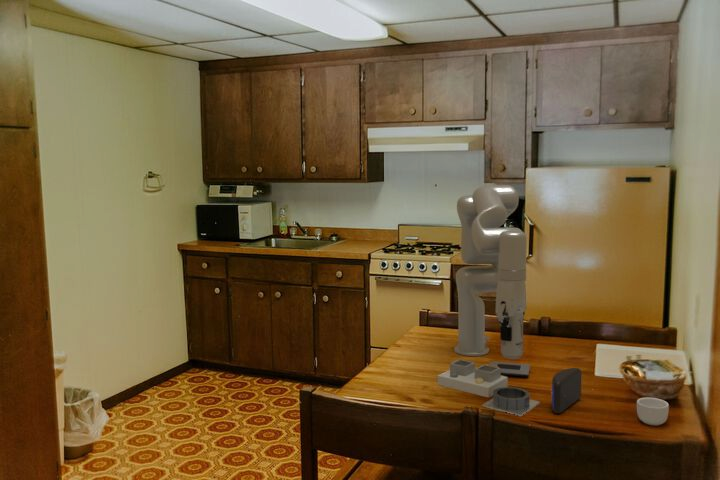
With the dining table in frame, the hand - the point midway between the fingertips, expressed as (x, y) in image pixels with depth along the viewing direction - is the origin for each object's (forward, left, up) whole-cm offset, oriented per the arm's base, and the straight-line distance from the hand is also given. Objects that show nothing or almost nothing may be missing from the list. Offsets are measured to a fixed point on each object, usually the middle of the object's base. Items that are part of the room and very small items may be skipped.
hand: (511, 337), depth 180 cm
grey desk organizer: (-7, -17, -20) cm, 27 cm away
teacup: (-13, +35, -20) cm, 42 cm away
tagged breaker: (-9, -13, -17) cm, 22 cm away
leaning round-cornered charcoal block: (-9, +13, -20) cm, 26 cm away
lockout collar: (0, 0, -20) cm, 20 cm away
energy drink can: (0, 0, -6) cm, 6 cm away
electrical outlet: (-25, -14, -21) cm, 35 cm away
